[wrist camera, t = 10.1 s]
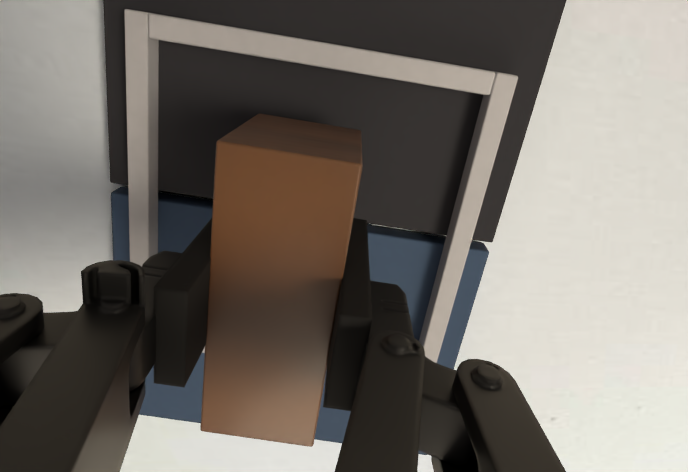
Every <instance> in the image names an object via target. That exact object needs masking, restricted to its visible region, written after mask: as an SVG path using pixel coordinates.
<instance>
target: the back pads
mask: <svg viewBox="0 0 688 472" xmlns="http://www.w3.org/2000/svg"><path fill="white" fill-rule="evenodd" d="M565 3H566V0H104V25H105V52H106V79H107V106H108V133H109V160H110V182H112V183H118V184H124V185H128V187H124V186H122V187H120V188H118V189H116V190H115V191H113V192H112V193H111V207H112V234H113V260H123V261H129V262H133V263H136V264H138V265H140V266H141V267H142V264H143V263H144V262H145V261H146V260H147V259H148V258H149V257H150V256H153V255H155V254H157V253H159V252H162V251H164V250H165V251H171V252H178V253H183V252H184V250H185V249H186V248H187V247H188V246H189V244H190V243H191V242H192V241H193V240H194V239H195V237H196V236H197V235H198V234H199V233H200V231H201V230H202V229H203V228H204V227H205V225H206V224H207V223H208V222H209V221H210V219H211V218H212V211H213V200H206V199H200V198H194V197H187V196H181V195H175V194H168V193H162V192H158V190H162V191H169V192H175V193H181V194H188V195H194V196H200V197H207V198H213V193H214V175H215V157H216V142H217V141H218V140H219V139H221V138H222V137H224V136H225V135H227V134H228V133H230V132H231V131H233V130H234V129H236V128H238V127H239V126H241V125H242V124H244V123H245V122H247V121H248V120H250V119H251V118H253V117H254V116H256V115H257V114H266V115H272V116H278V117H284V118H290V119H296V120H302V121H308V122H314V123H320V124H326V125H332V126H338V127H344V128H350V129H356V130H360V131H361V141H362V166H363V167H362V172H361V178H360V184H359V189H358V195H357V201H356V206H355V212H354V218H357V219H364V220H367V223H371V224H378V225H384V226H390V227H397V228H403V229H409V230H416V231H422V232H428V233H435V234H441V235H447V236H446V237H441V236H435V235H428V234H422V233H416V232H409V231H403V230H397V229H390V228H384V227H378V226H371V225H367V231H368V249H369V267H370V281H377V282H383V283H390V284H396V285H398V286H399V287H400V288H401V289H402V290H403V292H404V293H405V294H406V298H407V303H408V304H407V306H408V308H409V314H410V319H411V324H412V329H413V334H414V338H415V339H417V340H418V341H419V342H420V343H421V345H422V346H423V347H424V351H425V356H426V357H427V358H428V359H430V360H432V361H433V362H435V363H438V364H440V365H442V366H445V367H448V368H451V369H454V365H455V362H456V359H457V356H458V352H459V349H460V346H461V343H462V339H463V336H464V333H465V329H466V326H467V323H468V320H469V316H470V313H471V310H472V307H473V303H474V300H475V297H476V293H477V290H478V287H479V284H480V280H481V277H482V274H483V271H484V267H485V264H486V261H487V257H488V254H489V251H488V250H487V248H486V246H485V245H484V244H483V243H479V242H473V241H472V239H473V240H479V241H485V242H492V241H493V238H494V235H495V232H496V229H497V225H498V222H499V219H500V216H501V212H502V209H503V206H504V202H505V199H506V196H507V193H508V189H509V186H510V183H511V180H512V176H513V173H514V170H515V166H516V163H517V160H518V157H519V153H520V150H521V147H522V144H523V140H524V137H525V134H526V130H527V127H528V124H529V121H530V117H531V114H532V111H533V108H534V104H535V101H536V98H537V94H538V91H539V88H540V85H541V81H542V78H543V75H544V72H545V68H546V65H547V62H548V58H549V55H550V52H551V49H552V45H553V42H554V39H555V36H556V32H557V29H558V26H559V22H560V19H561V16H562V13H563V9H564V6H565ZM204 356H205V347H204V349H203V351H202V353H201V355H200V357H199V359H198V361H197V363H196V365H195V367H194V369H193V371H192V373H191V375H190V377H189V379H188V381H187V383H186V385H185V387H177V386H170V385H162V384H155V383H154V366H153V367H152V369H151V370H150V372H149V374H148V375H147V377H146V378H145V397H144V400H143V403H142V406H141V409H140V412H139V414H140V415H147V416H154V417H161V418H168V419H175V420H182V421H189V422H197V423H201V411H202V393H203V374H204ZM326 371H327V370H326ZM325 382H326V376H325ZM325 382H324V387H323V393H322V399H321V404H320V410H319V416H318V421H317V427H316V432H315V438H314V439H317V440H324V441H331V442H338V443H343V439H344V435H345V432H346V428H347V424H348V420H349V417H350V413H351V411H346V410H339V409H332V408H325V407H323V403H324V392H325ZM418 454H422V455H427V454H426V453H424V452H421V451H418Z"/></svg>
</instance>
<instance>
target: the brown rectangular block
mask: <svg viewBox="0 0 688 472" xmlns="http://www.w3.org/2000/svg"><path fill="white" fill-rule="evenodd" d="M362 167H363V166H362V141H361V131H360V130H356V129H350V128H344V127H338V126H332V125H326V124H320V123H314V122H308V121H302V120H296V119H290V118H284V117H278V116H272V115H266V114H257V115H256V116H254V117H253V118H251V119H250V120H248V121H247V122H245V123H244V124H242V125H241V126H239V127H238V128H236V129H234V130H233V131H231V132H230V133H228V134H227V135H225V136H224V137H222V138H221V139H219V140H218V141H217V142H216V157H215V175H214V193H213V211H212V229H211V247H210V258H211V262H210V280H209V298H208V317H207V335H206V345H205V356H204V374H203V393H202V411H201V431H205V432H212V433H219V434H226V435H233V436H240V437H247V438H254V439H261V440H268V441H275V442H282V443H289V444H296V445H303V446H313V444H314V438H315V432H316V427H317V421H318V416H319V410H320V404H321V399H322V393H323V387H324V382H325V376H326V370H327V361H328V356H329V350H330V344H331V338H332V333H333V327H334V321H335V316H336V310H337V304H338V299H339V293H340V287H341V281H342V278H343V274H344V269H345V263H346V257H347V252H348V246H349V240H350V235H351V229H352V223H353V218H354V212H355V206H356V201H357V195H358V189H359V184H360V178H361V172H362Z"/></svg>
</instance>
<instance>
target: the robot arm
mask: <svg viewBox="0 0 688 472" xmlns="http://www.w3.org/2000/svg"><path fill="white" fill-rule="evenodd" d="M211 229H212V218H211V219H210V221H209V222H208V223H207V224H206V225H205V227H204V228H203V229H202V230H201V231H200V233H199V234H198V235H197V236H196V237H195V239H194V240H193V241H192V242H191V243H190V244H189V246H188V247H187V248H186V249H185V250H184V252H183V253H178V252H171V251H165V250H164V251H162V252H159V253H157V254H155V255H153V256H150V257H149V258H148V259H147V260H146V261H145V262H144V263H143V264H142V267H141V266H140V265H138V264H136V263H133V262H129V261H123V260H109V261H104V262H98V263H95V264H92V265H90V266H87V267H86V268H85V269H84V270H82V271H81V277H82V293H83V304H82V306H81V307H80V309H79V310H78V311H75V312H59V313H43V305H42V302H41V301H40V300H39V299H38V298H37V297H35V296H32V295H29V294H18V293H10V294H2V295H0V472H120V469H121V466H122V463H123V460H124V457H125V454H126V451H127V448H128V445H129V442H130V439H131V436H132V433H133V430H134V427H135V424H136V421H137V418H138V415H139V412H140V409H141V406H142V403H143V400H144V397H145V378H146V377H147V375H148V374H149V372H150V370H151V369H152V367H153V366H154V383H155V384H162V385H170V386H177V387H185V385H186V383H187V381H188V379H189V377H190V375H191V373H192V371H193V369H194V367H195V365H196V363H197V361H198V359H199V357H200V355H201V353H202V351H203V349H204V347H205V345H206V335H207V317H208V298H209V280H210V262H211V258H210V247H211ZM407 304H408V303H407V298H406V294H405V293H404V292H403V290H402V289H401V288H400V287H399V286H398V285H396V284H390V283H383V282H377V281H370V267H369V249H368V231H367V220H364V219H357V218H353V223H352V229H351V235H350V240H349V246H348V252H347V257H346V263H345V269H344V274H343V278H342V281H341V287H340V293H339V299H338V304H337V310H336V316H335V321H334V327H333V333H332V338H331V344H330V350H329V356H328V361H327V371H326V382H325V392H324V403H323V407H325V408H332V409H339V410H346V411H351V413H350V417H349V420H348V424H347V428H346V432H345V435H344V439H343V443H342V447H341V450H340V454H339V458H338V462H337V465H336V469H335V472H417V466H418V451H421V452H424V453H426V454H428V455H431V456H432V465H433V469H434V472H566V471H565V469H564V467H563V466H562V464H561V462H560V460H559V458H558V457H557V455H556V453H555V451H554V449H553V448H552V446H551V444H550V442H549V440H548V439H547V437H546V435H545V433H544V431H543V430H542V428H541V426H540V424H539V422H538V421H537V419H536V417H535V415H534V413H533V412H532V410H531V408H530V406H529V404H528V403H527V401H526V399H525V397H524V395H523V394H522V392H521V390H520V388H519V387H518V385H517V383H516V381H515V380H514V379H513V377H512V376H511V375H510V374H509V373H508V372H507V371H505V370H504V369H503V368H501V367H500V366H498V365H496V364H493V363H492V362H489V361H484V360H480V359H468V360H466V361H463V362H461V364H460V365H459V367H458V369H457V371H456V370H453V369H451V368H448V367H445V366H442V365H440V364H438V363H435V362H433V361H432V360H430V359H428V358H427V357H426V356H425V351H424V347H423V346H422V345H421V343H420V342H419V341H418V340H417V339H415V338H414V334H413V329H412V324H411V319H410V314H409V308H408V306H407Z"/></svg>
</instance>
